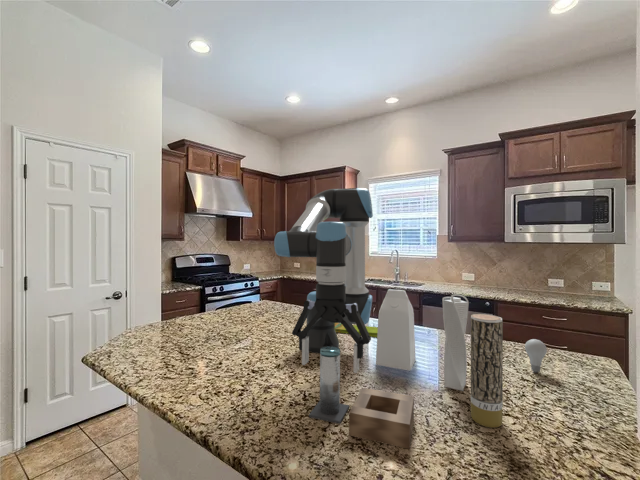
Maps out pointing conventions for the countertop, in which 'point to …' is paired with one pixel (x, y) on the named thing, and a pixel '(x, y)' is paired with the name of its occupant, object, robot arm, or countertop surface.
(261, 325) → the countertop surface
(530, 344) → the lightbulb
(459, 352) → the skyscraper
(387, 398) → the housing
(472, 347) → the bark-print cylinder
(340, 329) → the dish towel
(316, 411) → the mat
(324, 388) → the teal-capped metal cylinder
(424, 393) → the countertop surface
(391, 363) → the milk
